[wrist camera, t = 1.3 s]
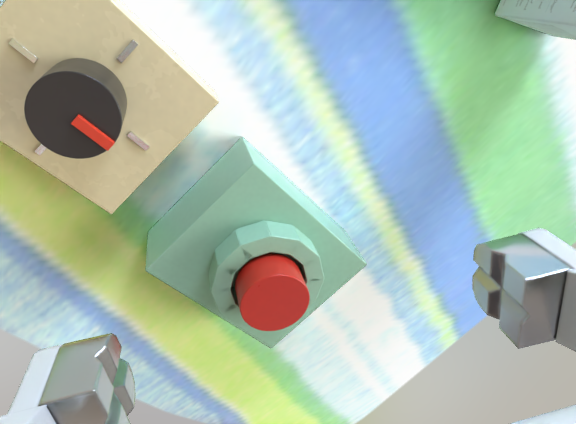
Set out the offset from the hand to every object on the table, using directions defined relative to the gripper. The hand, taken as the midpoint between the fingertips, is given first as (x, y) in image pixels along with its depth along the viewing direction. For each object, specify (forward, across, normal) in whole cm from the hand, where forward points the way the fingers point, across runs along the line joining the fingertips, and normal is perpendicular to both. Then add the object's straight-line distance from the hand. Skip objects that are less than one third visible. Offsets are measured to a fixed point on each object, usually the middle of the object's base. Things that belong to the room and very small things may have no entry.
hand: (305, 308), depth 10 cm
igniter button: (+17, 0, +11) cm, 20 cm away
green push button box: (+23, 0, +11) cm, 25 cm away
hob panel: (+22, +8, -2) cm, 24 cm away
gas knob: (+19, +8, -2) cm, 21 cm away
